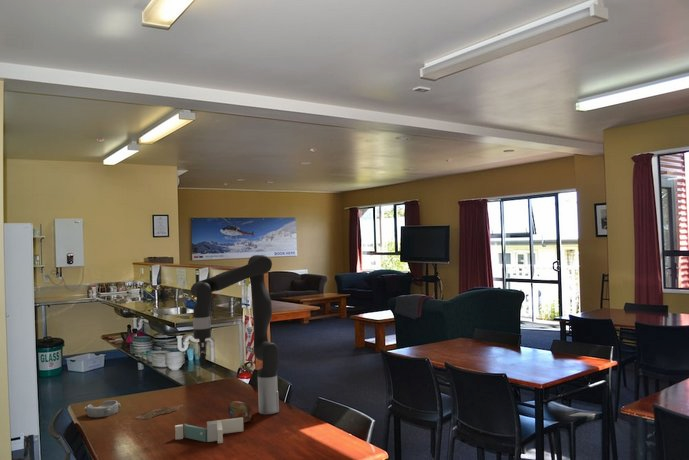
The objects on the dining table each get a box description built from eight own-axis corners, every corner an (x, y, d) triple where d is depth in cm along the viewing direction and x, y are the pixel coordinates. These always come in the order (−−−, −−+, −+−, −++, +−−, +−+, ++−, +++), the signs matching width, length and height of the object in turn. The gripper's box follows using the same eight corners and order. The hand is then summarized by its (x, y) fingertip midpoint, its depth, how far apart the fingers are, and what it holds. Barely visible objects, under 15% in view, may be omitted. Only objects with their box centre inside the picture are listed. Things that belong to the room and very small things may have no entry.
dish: (80, 417, 257) (80, 406, 257) (103, 408, 270) (103, 398, 270) (103, 420, 252) (103, 409, 252) (125, 411, 264) (125, 401, 265)
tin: (227, 418, 248) (227, 400, 248) (233, 416, 250) (233, 398, 250) (247, 424, 237) (247, 405, 238) (253, 423, 240) (252, 404, 240)
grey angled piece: (243, 429, 231) (242, 417, 231) (246, 439, 219) (245, 426, 219) (175, 438, 223) (175, 425, 224) (174, 449, 211) (174, 435, 211)
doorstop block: (217, 437, 221) (216, 420, 221) (217, 440, 217) (217, 423, 217) (207, 438, 220) (206, 421, 220) (207, 442, 216) (207, 424, 216)
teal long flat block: (207, 440, 218) (207, 427, 218) (203, 442, 216) (203, 429, 216) (185, 436, 224) (185, 423, 225) (181, 437, 223) (181, 424, 223)
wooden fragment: (140, 421, 247) (140, 419, 247) (129, 417, 255) (129, 415, 255) (190, 408, 266) (189, 406, 266) (178, 404, 274) (178, 402, 274)
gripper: (211, 328, 231) (212, 366, 230) (210, 324, 245) (211, 359, 244) (193, 330, 229) (194, 368, 228) (193, 325, 243) (194, 361, 242)
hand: (202, 363), depth 236 cm, fingers open, 8 cm apart
